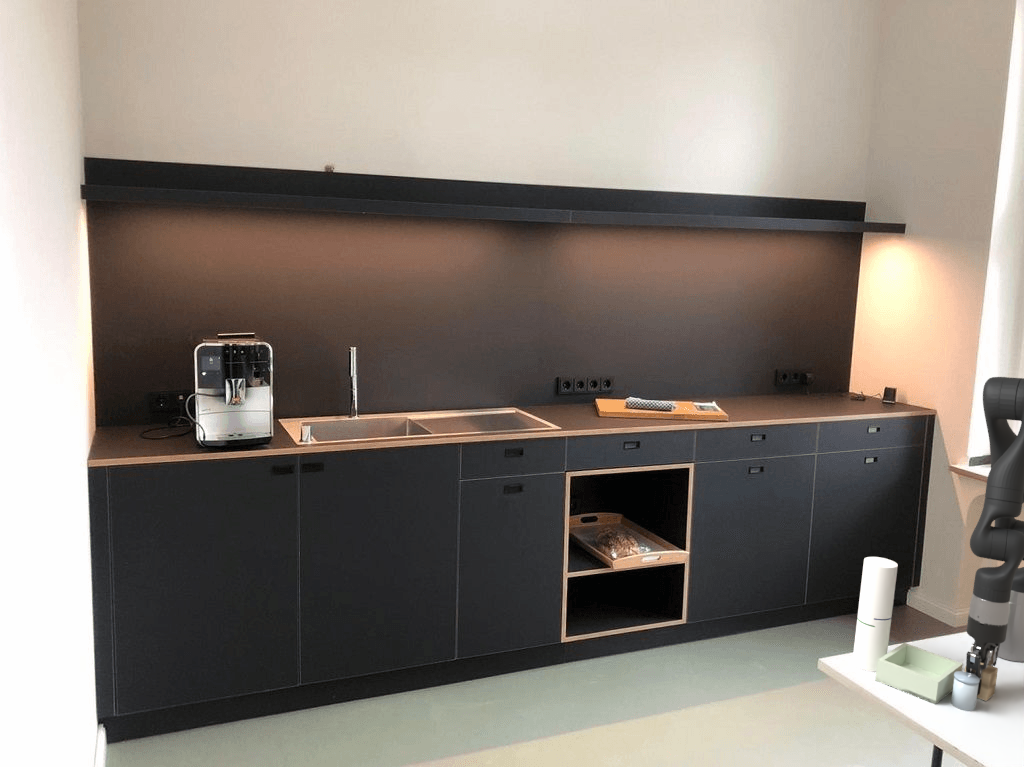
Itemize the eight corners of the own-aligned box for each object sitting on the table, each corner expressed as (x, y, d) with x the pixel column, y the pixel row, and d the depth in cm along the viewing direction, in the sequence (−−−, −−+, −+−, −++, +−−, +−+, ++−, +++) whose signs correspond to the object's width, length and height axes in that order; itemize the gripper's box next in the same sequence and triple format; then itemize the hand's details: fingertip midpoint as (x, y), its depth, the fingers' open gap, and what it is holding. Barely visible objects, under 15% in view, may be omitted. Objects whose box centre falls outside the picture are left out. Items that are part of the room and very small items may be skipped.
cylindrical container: (888, 673, 195) (901, 569, 191) (855, 669, 196) (867, 565, 192) (881, 659, 202) (893, 558, 198) (849, 655, 203) (861, 555, 199)
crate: (901, 662, 201) (904, 642, 200) (960, 684, 191) (962, 663, 191) (875, 680, 191) (877, 659, 190) (935, 704, 182) (938, 682, 181)
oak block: (970, 684, 191) (973, 659, 190) (994, 693, 188) (997, 668, 187) (961, 691, 188) (965, 666, 187) (986, 701, 184) (989, 675, 183)
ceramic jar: (955, 697, 185) (959, 669, 184) (979, 706, 182) (983, 677, 181) (946, 704, 182) (950, 675, 181) (970, 713, 179) (974, 684, 178)
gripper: (981, 602, 193) (972, 673, 195) (957, 618, 183) (947, 692, 185) (1018, 614, 187) (1008, 686, 190) (995, 631, 177) (985, 707, 180)
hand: (978, 689), depth 188 cm, fingers closed on oak block, 5 cm apart
